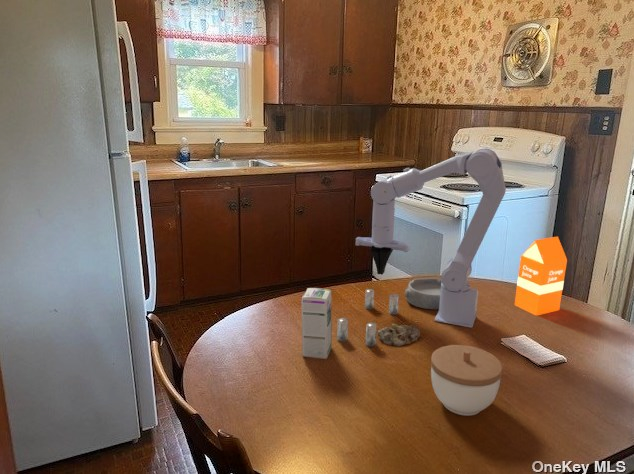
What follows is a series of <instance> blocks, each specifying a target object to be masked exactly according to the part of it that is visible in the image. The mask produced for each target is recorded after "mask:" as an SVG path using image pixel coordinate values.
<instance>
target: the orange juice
mask: <svg viewBox="0 0 634 474" xmlns="http://www.w3.org/2000/svg"><path fill="white" fill-rule="evenodd" d="M560 241H561V240H560V239H559V236H553V237H552V236H551V237H546V238H541V239H535V240H534V241H533V242H532V244H531V245H530V246H529V247H528V248H527V249H526V250H525V251H524V252H523V254H521V255H520V261H519V266H518V268H519V269H518V275H517V282H516V291H515V299H514V306H516V307H518V308H520V309H522V310H524V311H526V312H528V313H530V314H532V315H534V316H541V315H544V314H549V313H552V312H557V311H560V307H561V301H562V300H561V299H562V294H563V289H564V283H565V276H566V270H567V263H568V259H567V256H566V253H565V251H564V248H563V246H562V244H561V242H560Z"/></svg>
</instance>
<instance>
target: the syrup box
mask: <svg viewBox="0 0 634 474" xmlns="http://www.w3.org/2000/svg"><path fill="white" fill-rule="evenodd" d="M300 302H301V344H302V345H301V350H302V352H301V353H302V357H305V358H311V359H323V360H327V359H328V357H329V355H330V352H331V348H332V347H333V346H332V342H333V341H332V338H333V337H332V335H333V334H332V329H333V328H332V326H333V325H332V324H333V323H332V321H333V320H332V290H331V289H329V288H322V287H307V288H306V290H305V292H304V293H303V294H302V297H301V301H300Z"/></svg>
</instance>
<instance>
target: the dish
mask: <svg viewBox="0 0 634 474" xmlns="http://www.w3.org/2000/svg"><path fill="white" fill-rule="evenodd" d="M441 283H442V282H441V278H437V277H422V278H421V277H420V278H414V279H413V280H410V281H409V282H408V283H407V284H408V285H407V287H406V289H405V290H404V297H405V298H406V301H407V302H408V303H409V304H410V305H413V306H414V307H418V308H422V309H426V310H439V304H440V292H441Z"/></svg>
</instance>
